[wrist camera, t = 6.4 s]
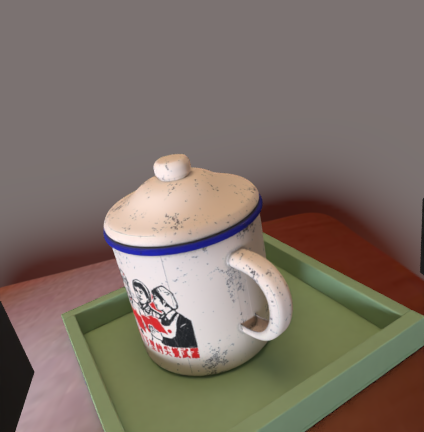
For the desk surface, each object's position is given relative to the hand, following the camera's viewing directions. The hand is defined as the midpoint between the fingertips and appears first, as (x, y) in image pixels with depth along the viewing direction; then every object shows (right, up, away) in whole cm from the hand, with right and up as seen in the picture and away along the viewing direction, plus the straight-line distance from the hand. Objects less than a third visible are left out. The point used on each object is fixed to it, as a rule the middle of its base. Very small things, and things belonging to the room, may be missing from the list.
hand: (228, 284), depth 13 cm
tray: (0, -6, +13) cm, 14 cm away
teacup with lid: (0, -6, +13) cm, 14 cm away
